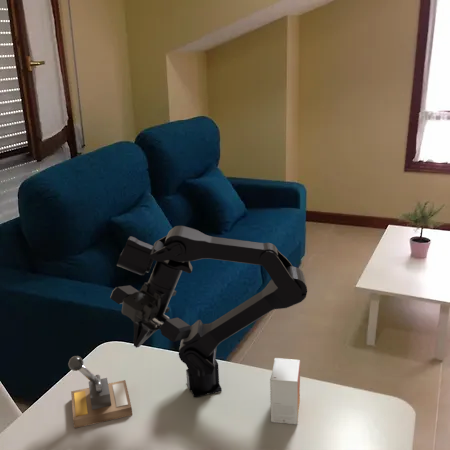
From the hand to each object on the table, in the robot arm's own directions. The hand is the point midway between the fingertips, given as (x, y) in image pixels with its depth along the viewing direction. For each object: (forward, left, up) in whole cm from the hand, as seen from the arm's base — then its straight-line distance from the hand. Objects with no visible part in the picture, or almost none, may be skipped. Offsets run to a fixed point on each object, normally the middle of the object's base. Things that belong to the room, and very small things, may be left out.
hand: (136, 346), depth 117 cm
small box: (-28, +16, -13) cm, 35 cm away
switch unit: (+9, +1, -13) cm, 15 cm away
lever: (+9, +1, -7) cm, 11 cm away
